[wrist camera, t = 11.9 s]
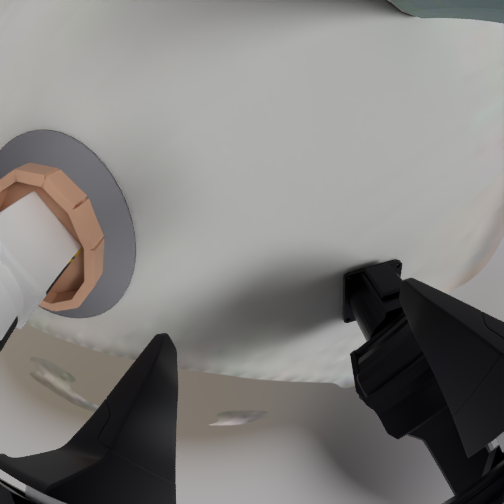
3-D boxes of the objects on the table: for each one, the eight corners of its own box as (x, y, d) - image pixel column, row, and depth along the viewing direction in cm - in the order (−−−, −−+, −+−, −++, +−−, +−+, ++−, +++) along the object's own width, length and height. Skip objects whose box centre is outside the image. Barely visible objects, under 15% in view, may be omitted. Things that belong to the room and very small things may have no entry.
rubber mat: (168, 302, 25) (167, 305, 24) (36, 322, 25) (34, 324, 25) (94, 89, 15) (91, 89, 15) (-33, 179, 15) (-35, 180, 15)
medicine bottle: (51, 284, 22) (-4, 373, 11) (8, 235, 19) (-62, 308, 8) (84, 246, 20) (13, 348, 10) (35, 187, 17) (-61, 260, 7)
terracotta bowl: (127, 285, 23) (120, 300, 21) (35, 303, 23) (27, 315, 22) (69, 139, 16) (55, 143, 14) (-17, 195, 16) (-30, 203, 15)
